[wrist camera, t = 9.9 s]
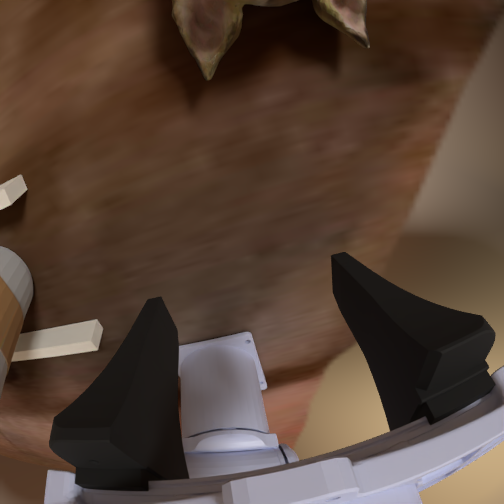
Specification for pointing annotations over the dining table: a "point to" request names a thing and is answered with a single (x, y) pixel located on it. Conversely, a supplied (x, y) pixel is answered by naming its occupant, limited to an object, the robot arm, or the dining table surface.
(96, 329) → the dock
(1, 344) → the coffee cup
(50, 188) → the dining table surface
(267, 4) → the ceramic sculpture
